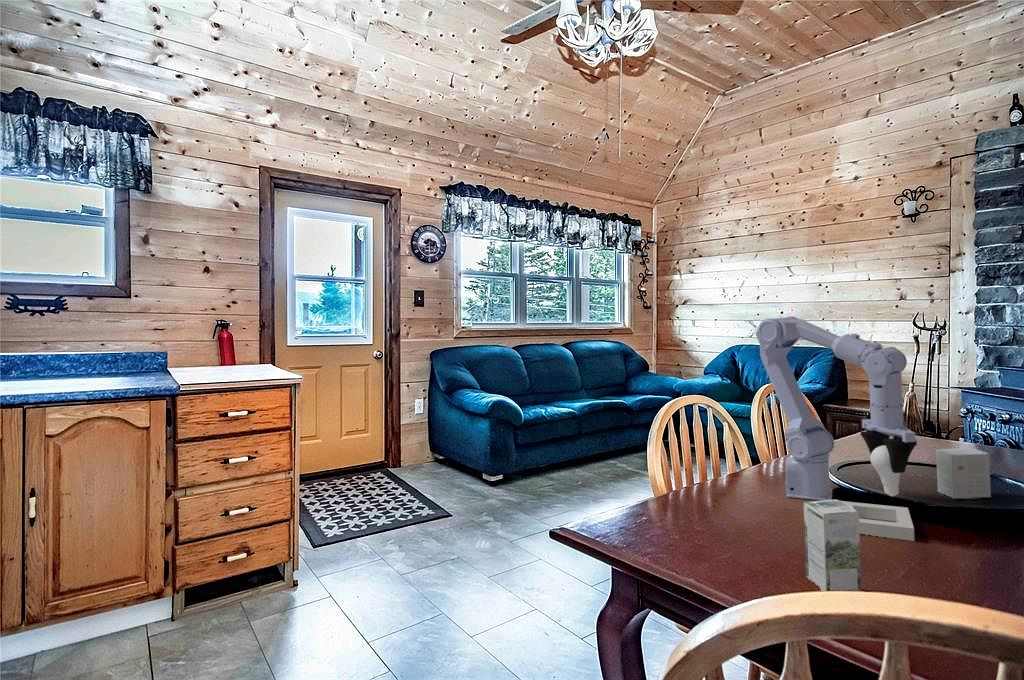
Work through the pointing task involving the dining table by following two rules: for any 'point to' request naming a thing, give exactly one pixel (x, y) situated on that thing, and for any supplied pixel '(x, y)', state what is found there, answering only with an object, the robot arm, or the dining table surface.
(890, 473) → the lightbulb
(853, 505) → the white shallow tray
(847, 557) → the syrup box
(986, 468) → the small box
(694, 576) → the dining table surface
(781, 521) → the dining table surface
